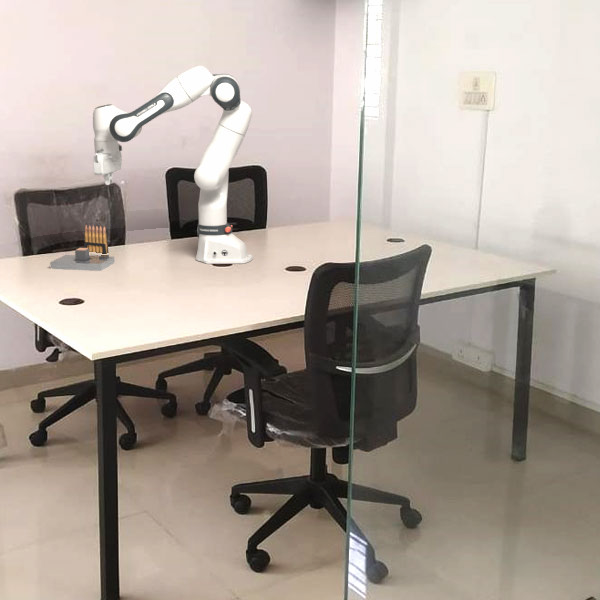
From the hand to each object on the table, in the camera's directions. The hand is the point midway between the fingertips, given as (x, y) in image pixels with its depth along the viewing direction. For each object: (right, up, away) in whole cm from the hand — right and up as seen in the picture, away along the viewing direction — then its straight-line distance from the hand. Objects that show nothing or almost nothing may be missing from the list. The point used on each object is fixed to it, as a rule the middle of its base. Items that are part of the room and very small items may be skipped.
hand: (108, 184), depth 349 cm
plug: (-10, -31, -2) cm, 33 cm away
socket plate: (-10, -31, -1) cm, 33 cm away
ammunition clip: (-9, -26, +19) cm, 34 cm away
